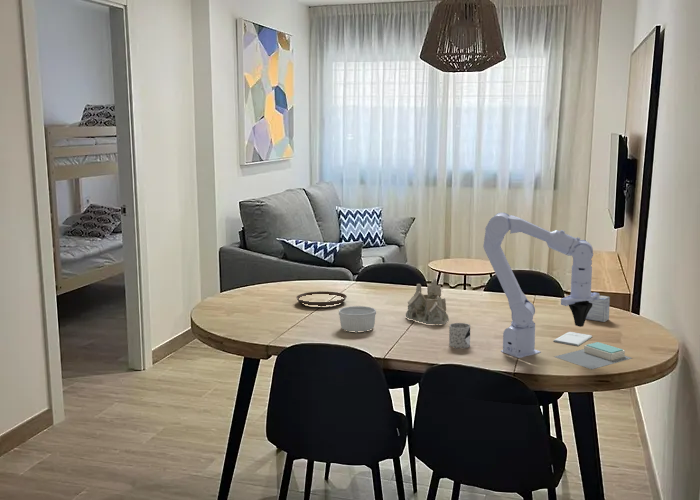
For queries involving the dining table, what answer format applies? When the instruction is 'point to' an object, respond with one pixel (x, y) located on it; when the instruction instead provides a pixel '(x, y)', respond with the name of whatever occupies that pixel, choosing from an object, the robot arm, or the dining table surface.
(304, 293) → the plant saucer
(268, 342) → the dining table surface
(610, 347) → the slab
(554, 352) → the dining table surface
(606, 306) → the medicine box
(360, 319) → the ramekin
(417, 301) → the ceramic cottage
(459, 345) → the mug
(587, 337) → the external hard drive
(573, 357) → the mat
